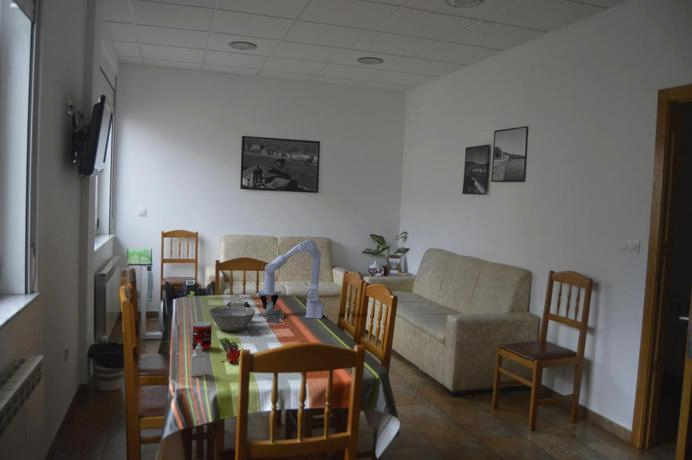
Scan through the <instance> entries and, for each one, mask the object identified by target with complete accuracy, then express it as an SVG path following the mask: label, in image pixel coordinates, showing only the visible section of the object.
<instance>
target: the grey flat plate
mask: <svg viewBox="0 0 692 460" xmlns="http://www.w3.org/2000/svg"><path fill="white" fill-rule="evenodd" d="M271 314H272V313H265V312H260V313H259V314H258V317H267V318H268V317H271Z"/></svg>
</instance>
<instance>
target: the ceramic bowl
mask: <svg viewBox="0 0 692 460" xmlns="http://www.w3.org/2000/svg"><path fill="white" fill-rule="evenodd" d="M208 310H209V311H208V312H209V314H210V316H211V318H212V320H213V322H214V323H215V324H216V326H218V328H219V329H220V330H223V331H225V332H241V331H244V330H245V329H246V328H248V325H249V324H250V322H251V321H252V320H253V318H254V316H255V313H256V310H255V309H254V308H252V307H250V308H248V307H241V306H227V305H224V306H215V307H212V308H210V309H208Z"/></svg>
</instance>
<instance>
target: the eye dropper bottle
mask: <svg viewBox="0 0 692 460" xmlns="http://www.w3.org/2000/svg"><path fill="white" fill-rule="evenodd" d="M207 358H208V357H207V354H206V353H204V352H203V351H202V347H201V346H200V343H198V346H197V347H196V350H195V353H193V354H191V355H190V370H189V371H190V372H189V373H190V374H189V375H190V376H191V377H193V378H195V377H196V378H197V376H199V377H203V376H202V375H204V376H206V375H207Z"/></svg>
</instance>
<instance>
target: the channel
mask: <svg viewBox="0 0 692 460" xmlns="http://www.w3.org/2000/svg"><path fill="white" fill-rule="evenodd" d="M284 318H285V314H284V313H282V312H281V313H279V314H278V313H272V314H271V317H268V316H267V317H266V323H271V324H279V323H281V320H283V319H284Z"/></svg>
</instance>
